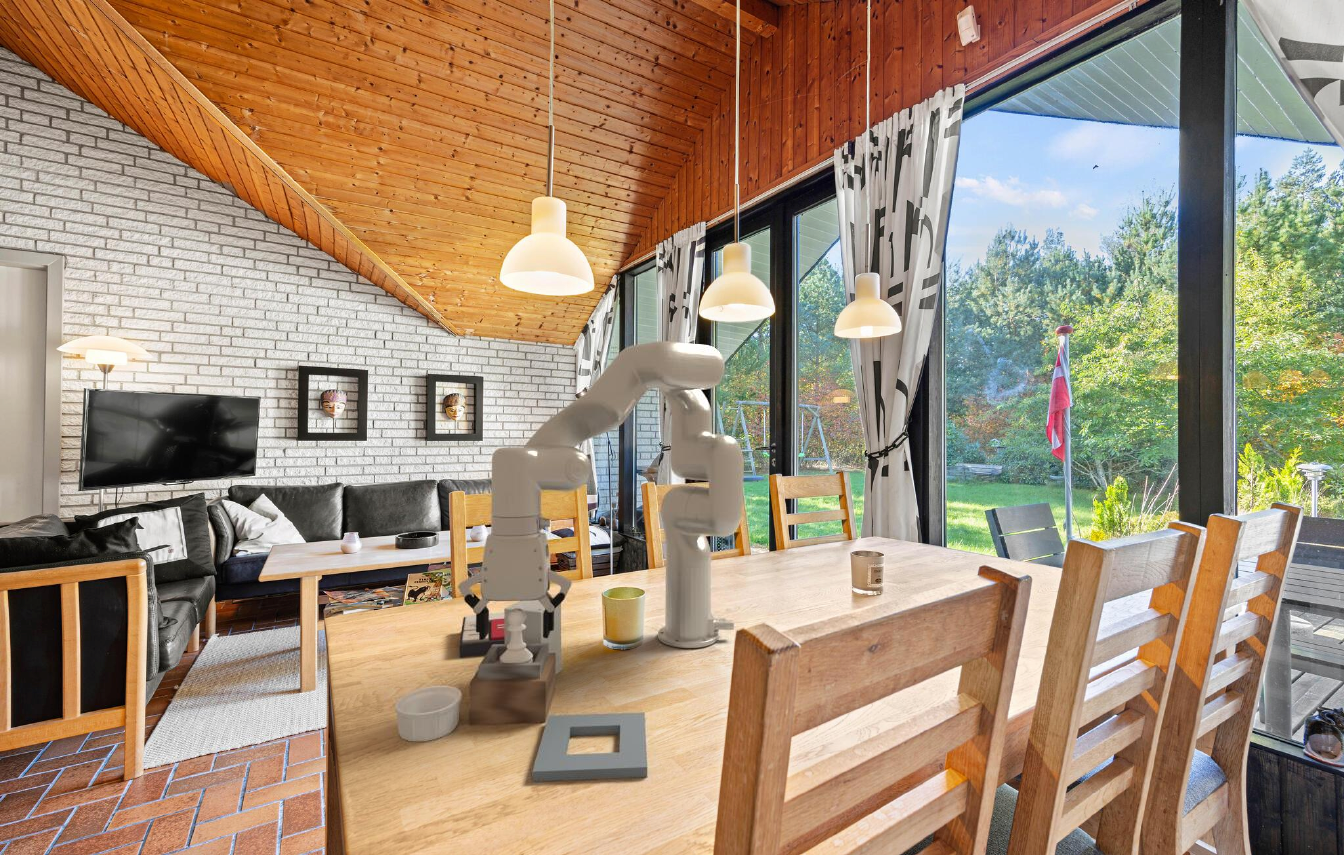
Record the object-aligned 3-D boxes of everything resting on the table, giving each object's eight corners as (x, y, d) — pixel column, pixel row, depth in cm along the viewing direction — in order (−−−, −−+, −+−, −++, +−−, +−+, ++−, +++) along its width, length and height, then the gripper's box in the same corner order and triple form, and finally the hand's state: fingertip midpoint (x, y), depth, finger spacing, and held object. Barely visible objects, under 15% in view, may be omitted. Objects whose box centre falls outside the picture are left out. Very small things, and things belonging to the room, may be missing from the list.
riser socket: (555, 689, 95) (555, 640, 95) (545, 722, 84) (545, 667, 84) (487, 691, 94) (488, 642, 94) (469, 724, 83) (469, 669, 83)
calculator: (459, 640, 108) (463, 613, 122) (459, 663, 108) (463, 632, 123) (519, 634, 111) (516, 608, 126) (519, 656, 111) (516, 627, 126)
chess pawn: (537, 668, 88) (537, 610, 89) (504, 675, 86) (505, 615, 86) (527, 657, 93) (527, 602, 93) (495, 664, 90) (496, 607, 90)
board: (644, 720, 85) (644, 712, 85) (647, 776, 71) (647, 766, 71) (548, 723, 83) (548, 715, 84) (532, 781, 70) (532, 771, 70)
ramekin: (419, 752, 76) (420, 719, 76) (381, 733, 81) (381, 702, 81) (474, 724, 84) (475, 694, 84) (436, 708, 88) (436, 680, 88)
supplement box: (562, 670, 102) (563, 600, 103) (540, 688, 95) (540, 612, 96) (527, 665, 105) (527, 596, 105) (502, 681, 98) (503, 607, 98)
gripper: (574, 522, 94) (573, 626, 94) (466, 523, 93) (465, 629, 92) (569, 529, 86) (568, 643, 86) (452, 530, 85) (451, 646, 85)
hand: (515, 635), depth 89 cm, fingers open, 9 cm apart
